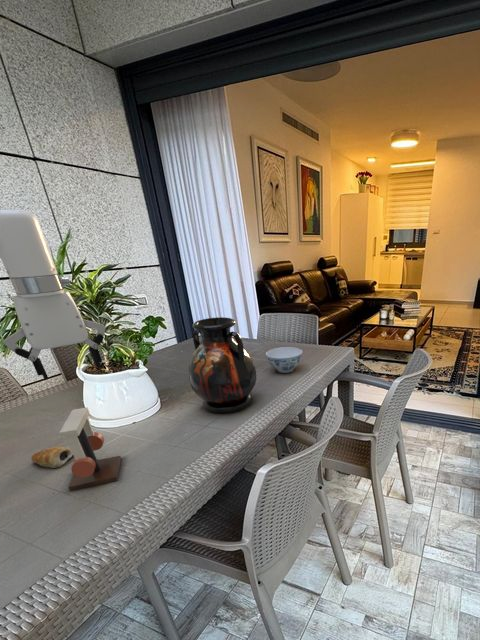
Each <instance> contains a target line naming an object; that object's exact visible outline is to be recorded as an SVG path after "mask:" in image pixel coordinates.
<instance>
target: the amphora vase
mask: <svg viewBox="0 0 480 640" xmlns="http://www.w3.org/2000/svg"><path fill="white" fill-rule="evenodd" d="M235 325H236V320H235V319H234V318H232V317H224V316H223V317H222V316H221V317H219V316H218V317H209V318H203V319H199V320H196V321H194V322H193V323H192V328H193V329H194V330H193V333H192V341H193V345H194V349H195V350H194V352H193V353H192V356H191V358H190V362H189V365H188V366H189V367H188V381H189V383H190V387H191V389H192V390H193V392H194V393H195V394H196V395H197V396H198V397H199V398H200V399H202V400H203V402H202V405H203V407H204V409H206V410H207V411H208V412H210V413H211V412H212V413H215V414H227V413H228V414H229V413H233V412H234V413H235V412H238V411H240V410H243V409H246V408H247V407H248V406H249V405H250V404H251V403H252V401H253V395H252V394H251V393H252V391H253V390H254V388H255V386H256V383H257V378H258V377H257V369H256V365H255V363H254V360H253V358H252V357H251V355H250V353H249V352H248V351H247V350H246V349H245V348H244V343H243V338H242V337H241V335H240V333H238V332H236V331H231V328H233V327H234V326H235ZM200 336H201V340H200Z"/></svg>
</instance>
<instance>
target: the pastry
mask: <svg viewBox="0 0 480 640" xmlns="http://www.w3.org/2000/svg"><path fill="white" fill-rule="evenodd" d="M73 456H74V455H73V453H72V451H71V448H70V447H62V446H54V447H50V448H49V447H48V448H45V449H42V450H40V451H37V452H35V453H34V454H33V455H31V462H33V463H35V464H37V465H38V466H40V467H45V468H51V469H55V468H56V469H57V468H60V467H62V466H63V465H64V464H66V463H67V462H68V460H70V459H71V458H72V457H73Z"/></svg>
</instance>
